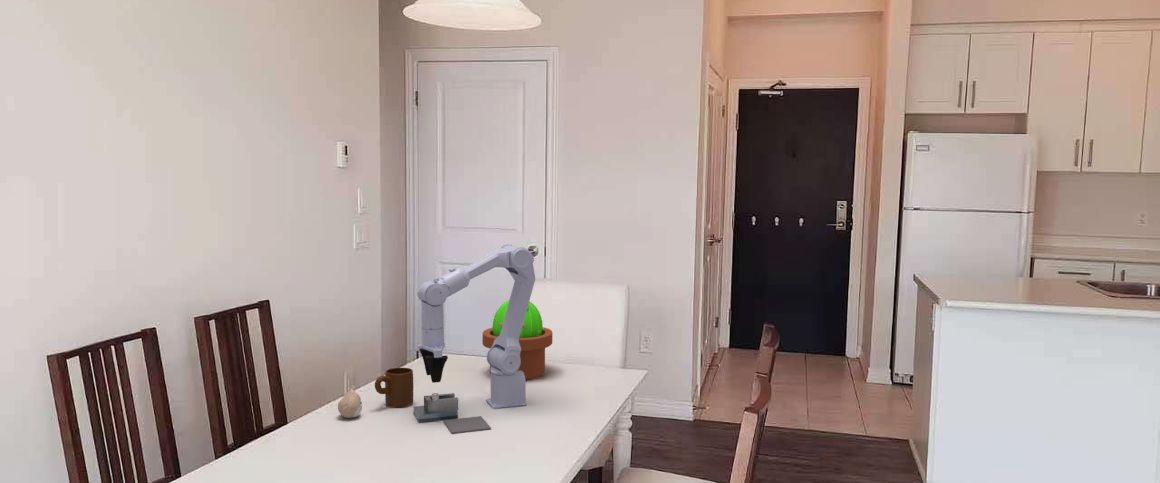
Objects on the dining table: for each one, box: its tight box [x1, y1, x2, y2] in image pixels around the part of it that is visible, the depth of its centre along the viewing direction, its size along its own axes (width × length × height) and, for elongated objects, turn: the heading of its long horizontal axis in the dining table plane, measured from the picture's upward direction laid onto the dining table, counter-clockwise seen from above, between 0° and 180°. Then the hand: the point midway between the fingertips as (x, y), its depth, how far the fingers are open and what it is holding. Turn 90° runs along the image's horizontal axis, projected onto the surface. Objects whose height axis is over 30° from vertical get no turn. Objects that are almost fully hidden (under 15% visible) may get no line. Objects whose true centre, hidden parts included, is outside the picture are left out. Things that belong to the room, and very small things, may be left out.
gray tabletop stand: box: [423, 392, 459, 413], centre depth 209 cm, size 8×5×3 cm
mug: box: [374, 367, 414, 409], centre depth 217 cm, size 12×8×9 cm, turn 143°
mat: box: [442, 415, 492, 435], centre depth 201 cm, size 10×10×1 cm
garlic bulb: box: [337, 384, 363, 419], centre depth 207 cm, size 7×6×8 cm
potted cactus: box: [482, 297, 553, 381], centre depth 251 cm, size 22×22×25 cm
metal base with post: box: [413, 392, 459, 424], centre depth 208 cm, size 10×8×6 cm
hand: (433, 378), depth 209 cm, fingers open, 7 cm apart
